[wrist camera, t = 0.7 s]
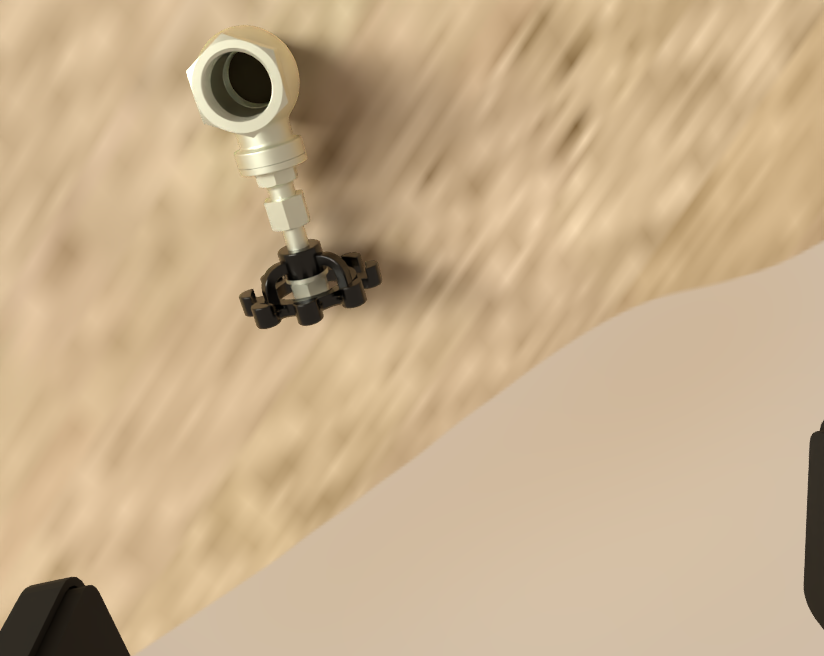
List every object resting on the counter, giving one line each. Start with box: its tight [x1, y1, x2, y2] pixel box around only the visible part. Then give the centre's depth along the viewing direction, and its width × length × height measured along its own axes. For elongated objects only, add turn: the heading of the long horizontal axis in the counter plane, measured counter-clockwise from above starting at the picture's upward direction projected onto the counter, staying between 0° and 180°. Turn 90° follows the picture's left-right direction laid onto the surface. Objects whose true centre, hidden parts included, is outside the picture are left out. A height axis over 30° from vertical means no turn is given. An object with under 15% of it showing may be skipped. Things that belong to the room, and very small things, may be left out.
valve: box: [186, 25, 382, 329], centre depth 32 cm, size 7×7×12 cm
